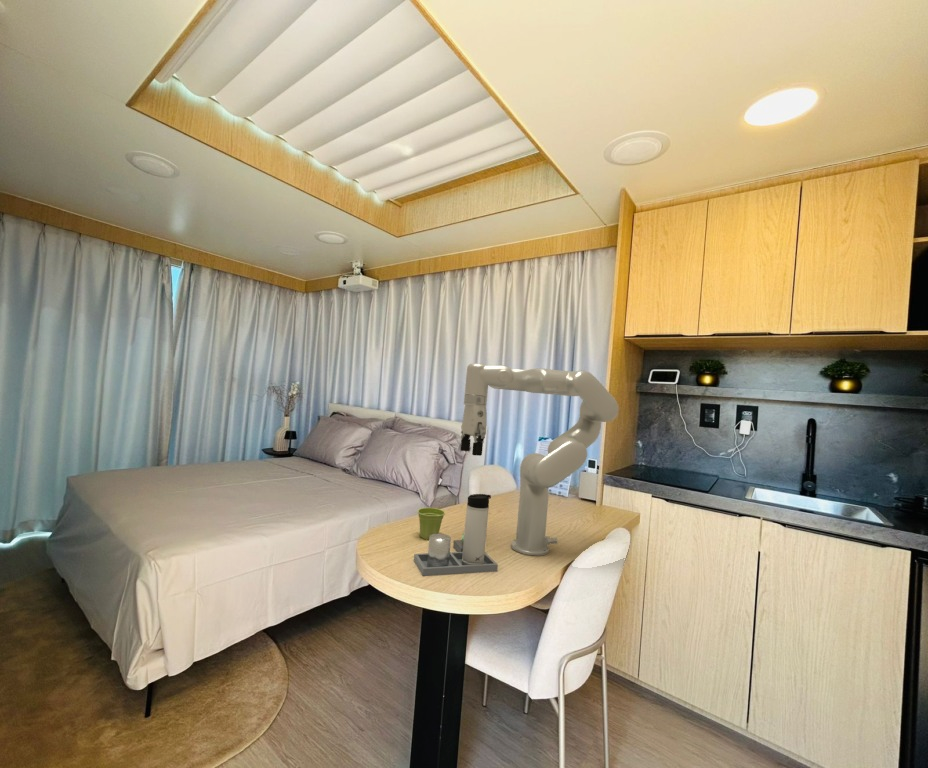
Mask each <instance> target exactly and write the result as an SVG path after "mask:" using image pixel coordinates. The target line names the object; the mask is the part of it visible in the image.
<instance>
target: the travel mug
mask: <svg viewBox="0 0 928 768" xmlns="http://www.w3.org/2000/svg"><path fill="white" fill-rule="evenodd" d="M491 498H492V495H491V494H485V493H475V494H474V493H473V494H470V495H469V496H468V497H467V504H466V511H465V512H466V513H465V523H464V533H463V534H464V542H463V553H462V565H478V564H484V553H486V551H485V550H486V539H487V531H488V530H487V528H488V518H489V504H490V499H491Z"/></svg>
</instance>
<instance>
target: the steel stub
mask: <svg viewBox="0 0 928 768" xmlns="http://www.w3.org/2000/svg"><path fill="white" fill-rule="evenodd" d="M451 545H452V537H451V536H450V535H448V534H444V533H439V534H432V535H430V537H429V540H428V549H427V553H428V558H427V567H443V566H449V556H450V552H451Z"/></svg>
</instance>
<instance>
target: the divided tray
mask: <svg viewBox="0 0 928 768" xmlns="http://www.w3.org/2000/svg"><path fill="white" fill-rule="evenodd" d="M462 553H463V552H456V551H453V552H452V551H450V556H449V566H443V567H427V558H428V552H427V553H414V555H413V562H414V563H415V565H416V567H417V569H418V571H419V572H420V574H421V576H422V577H430V576H431V577H432V576H434V577H435V576H445V575H446V576H447V575H463V574H476V573H479V574H480V573H493V572H498V567H499V564H498V563H497V562H496V561H495V560H494V559H493V558H491V556H490V555H488V553H487V552H485V553H484V564H478V565H462Z"/></svg>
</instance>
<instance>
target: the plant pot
mask: <svg viewBox="0 0 928 768" xmlns="http://www.w3.org/2000/svg"><path fill="white" fill-rule="evenodd" d="M417 514H418V519H419V537H420V538H422V539H423V540H427V541H429V537H430V535H432V534H440V529H441V525H442V522H443V519H444V516H445V515H446V511H444V510H443V509H440V508H436V507H422V508H419V509H417Z"/></svg>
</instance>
